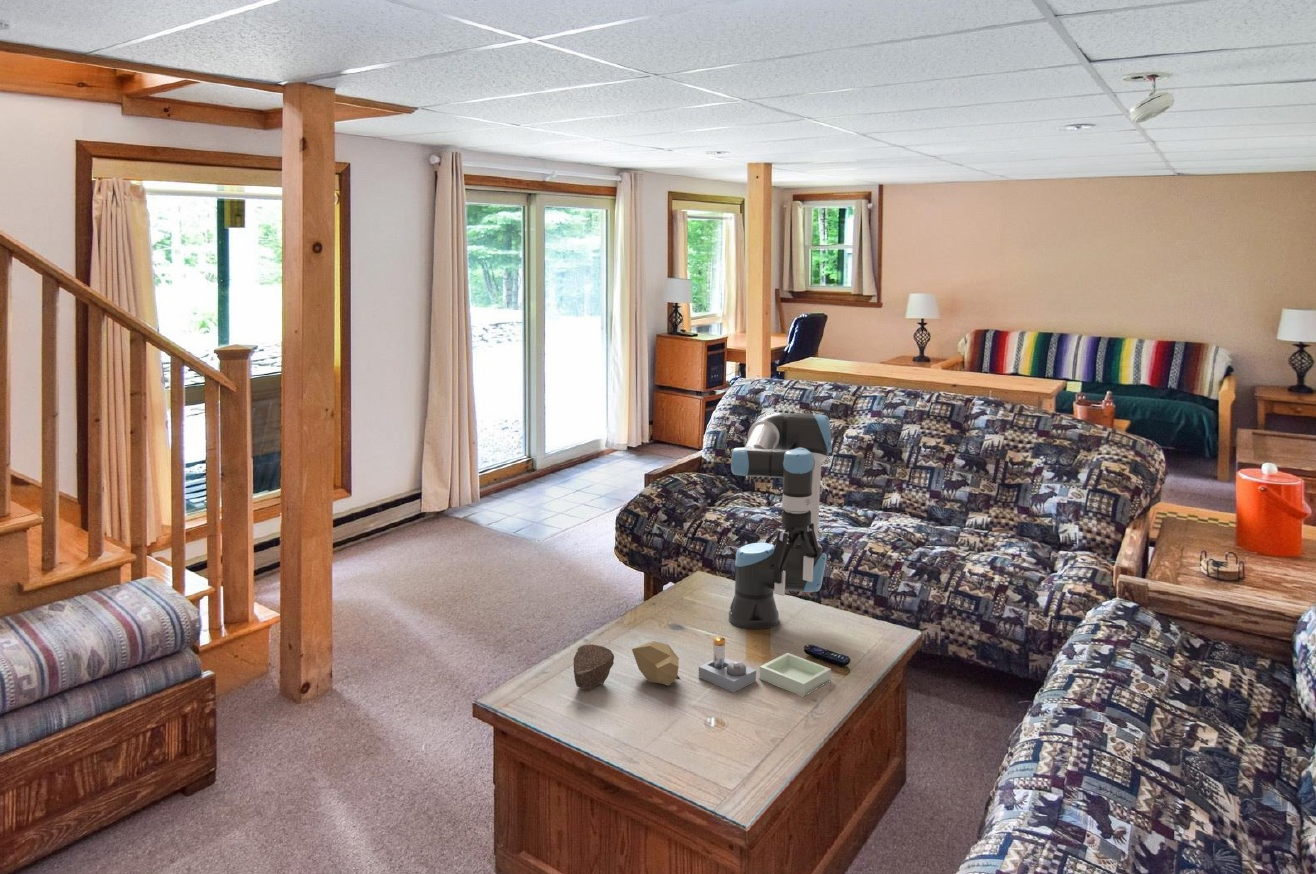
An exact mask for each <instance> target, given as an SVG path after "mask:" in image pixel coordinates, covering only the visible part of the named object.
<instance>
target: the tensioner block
mask: <svg viewBox="0 0 1316 874" xmlns="http://www.w3.org/2000/svg"><path fill="white" fill-rule="evenodd" d="M698 678H699V679H702V680H704V681H707V682H709V683H711V684H714V685H715V686H718V687H721V688H723V689H725V690H727V691H729V692H732V693H735V692H737V691H739V690H741V689H743V688H745V687H746V686H749V685H750V684H752V683H754V682H756V681H757V670H756V669H754V668H751V667H750V666H747V665H745V664H744V663H741V662H740V661H735V660H732V659H729V658H727V657H725V660H724V668H723V669H721V670H718V669H716V668H713V659H711V660H710V661H708V662H706V663H703V664H701V665H699V666H698Z"/></svg>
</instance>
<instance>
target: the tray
mask: <svg viewBox="0 0 1316 874" xmlns="http://www.w3.org/2000/svg"><path fill="white" fill-rule="evenodd" d="M831 674H832V669H831V668H829V667H827V666H824V665H821V664H820V663H816V662H813V661H812V660H808V659H806V658H804V657H803V658H802V657H801V656H798V655H796V654H795V655H794V654H792V653H789V652H785V653H784V654H782V655H780V656H778V657H776V658H774V659H772V660H770V661H768V662H766V663H764V664H761V666H759V680H761V681H764V682H766V683H769V684H771V685H773V686H776V687H778V688H780V689H783V690H785V691H788V692H791V693H793V694H795V693H796V695H798V696H800V697H802V696H804V697H805V695H806V696H807V695H809V694H811V693H812V691H813V692H815V691H816V690H817V689H816V688H818V689H820V688H822V687H823V686H824V685H823V684H825V683H827V682H828V683H830V682H831V678H832V675H831ZM829 681H830V682H829ZM828 683H827V684H828ZM822 685H823V686H822ZM825 685H826V684H825ZM819 687H820V688H819ZM815 689H816V690H815ZM810 692H811V693H810ZM808 693H809V694H808Z"/></svg>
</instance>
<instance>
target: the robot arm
mask: <svg viewBox="0 0 1316 874" xmlns="http://www.w3.org/2000/svg"><path fill="white" fill-rule="evenodd" d="M830 423H831V422H830V418H829V417H828V416H827V415H825V414H817V413H795V412H793V413H792V412H791V413H789V412H775V413H771V414H767V415H765V416H762V417H761V418H759V419H757V420H756V421H754V422H753V423H752V424H751V426H750V428H749V430H748V432H747V442H746V444H745V445H744V447H735V448H733V449H732V452H731V459H730V461H731V462H730V470H731V473H732V475H734V476H742V477H756V478H757V477H760V478H761V477H762V478H763V477H764V478H775V479H776V478H778V479H782V480H783V481H782V498H781V499H782V500H781V501H782V503H781V508H782V510H781V523H782V525H783V526H784V527H785V529H784V532H782V531H778V532H777V536H776V543H775V545H774V544H772V543H768V542H751V543H748V544H745V545H743V546H740V547H739V548H738V549H737V551H736V554H735V555H736V556H735V561H734V565H735V574H734V575H735V578H734V596H733V599H732V601H731V604H730V607H729V610H728V621H729V622H730V623H731V624H732V625H734V626H737V627H739V628H744V629H749V630H751V629H752V630H762V629H768V628H769V629H770V628H772V627H774V626H776V625H777V624H778V623H779V617H780V616H779V611H778V607H777V604H776V601H775V597H774V596H775V595H779V596H781V597H784V596H786V595H785V594H786V593H785V592H786V591H792V592H803V593H817V592H818V591H820V590H821V588H822V583H823V579H824V574H825V568H826V562H827V554H826V553H825V552H823V547H822V546H821V544H820V543H819V541H818V537H819V520H820V519H819V518H820V517H819V516H820V498H821V497H820V496H821V478H822V474H821V473H822V463H824V462H825V461H826V460H827V458H828V454H831V453H832V452H833V450H832V449H833V447H832V436H831V435H832V434H831V424H830ZM774 594H775V595H774Z"/></svg>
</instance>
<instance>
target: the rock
mask: <svg viewBox="0 0 1316 874" xmlns="http://www.w3.org/2000/svg"><path fill="white" fill-rule="evenodd" d="M614 660H615V655H614V653H613V652H612V650H611V649H609V648H608V647H606V646H603V645H598V644H583V645H581V646H579V647H577V650H576V652H575V654H574V656H573V675H574V681H575V685H576V687H577V688H580V689H581V690H583V691H584V692H591V691H593V690H594V688H597V686H601V685H604V684H605V681H606V680H607V679H608V677H609V674H610V672H611V668H612V667H613V666H614V664H615V662H614Z"/></svg>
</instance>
